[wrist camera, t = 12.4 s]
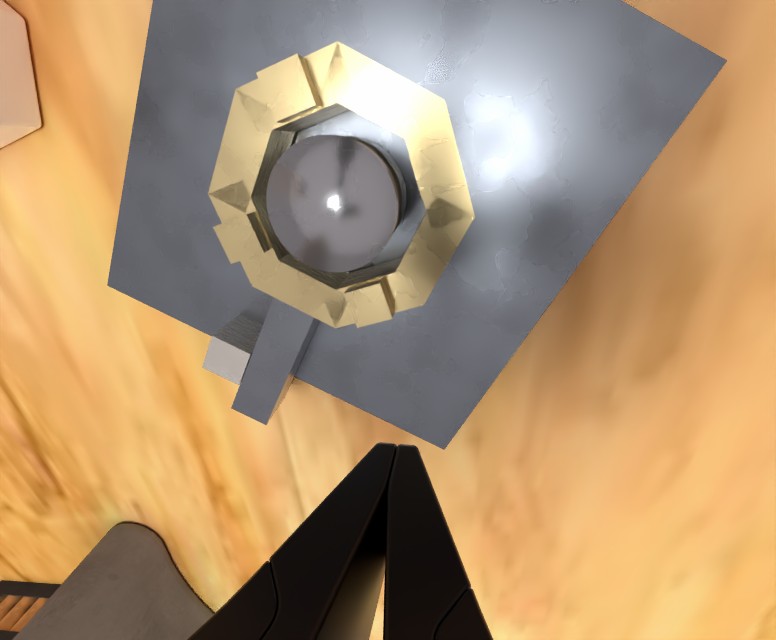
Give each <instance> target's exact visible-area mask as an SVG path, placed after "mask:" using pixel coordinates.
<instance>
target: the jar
mask: <svg viewBox="0 0 776 640" xmlns="http://www.w3.org/2000/svg"><path fill="white" fill-rule="evenodd" d="M41 124H42V123H41V117H40V111H39V104H38V98H37V92H36V86H35V80H34V73H33V67H32V61H31V55H30V49H29V42H28V36H27V30H26V24H25V21H24V19H23V18H22V17H21V16H20V15H19V14H18V13H17V12H16V11H15V10H13V9H12V8H11V7H10V6H9V5H8V4H6V3H5V2H4V1H3V0H0V148H2V147H4V146H6V145H8V144H10V143H12V142H14V141H16V140H18V139H20V138H22V137H23V136H25V135H27V134H29V133H31V132H33V131H35V130H37V129H39V128H40V127H41Z"/></svg>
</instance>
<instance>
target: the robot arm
mask: <svg viewBox="0 0 776 640" xmlns="http://www.w3.org/2000/svg"><path fill="white" fill-rule="evenodd" d="M269 560H270V562H269V561H266V562H265V563H264V564H263V565H262V566H261V567H260V569H259V570H258V571H257V572H256V573H255V574H254V575H253V576H252V577H251V578H250V579H249V580H248V581H247V582H246V583H245V584H244V585H243V586H242V587H241V588H240V589H239V590H238V591H237V592H236V593H235V594H234V595H233V596H232V597H231V598H230V599H229V600H228V601H227V602H226V603H225V604H224V605H223V606H222V607H221V608H220V609H219V610H218V611H217V612H216V613H215V614H214V615H213V616H211V617H210V618H209V619H208V620H207V621H206V622H205V623H204V624H203V625H202V626H201V627H200V628H198V629H197V630H196V631H195V632H194V633H193V634H192V635H191V636H190V637H189V638H187V639H186V640H369V637H370V633H371V629H372V624H373V620H374V616H375V612H376V608H377V603H378V599H379V595H380V591H381V586H382V582H383V578H384V574H385V589H384V626H383V640H493V638H492V635H491V633H490V631H489V628H488V626H487V623H486V621H485V619H484V616H483V614H482V612H481V609H480V607H479V604H478V601H477V599H476V596H475V594H474V591H473V589H471V584H470V581H469V579H468V576H467V574H466V571H465V568H464V566H463V563H462V561H461V558H460V556H459V553H458V550H457V548H456V545H455V543H454V540H453V538H452V535H451V532H450V530H449V527H448V525H447V522H446V519H445V517H444V514H443V512H442V509H441V507H440V504H439V501H438V499H437V496H436V494H435V491H434V489H433V486H432V483H431V481H430V478H429V476H428V473H427V470H426V468H425V465H424V463H423V460H422V458H421V455H420V452H419V450H418V448H417V447H416V446H414V445H404V444H400V445H398V446H396V444H392V443H377V444H376V445H375V446H374V447H373V448H372V449H371V450H370V451H369V453H368V454H367V455H366V456H365V457H364V458H363V459H362V460H361V461H360V462H359V463H358V464H357V465H356V466H355V467H354V469H353V470H352V471H351V472H350V473H349V474H348V475H347V476H346V477H345V478H344V479H343V480H342V481H341V482H340V483H339V485H338V486H337V487H336V488H335V489H334V490H333V491H332V492H331V493H330V494H329V495H328V496H327V497H326V498H325V499H324V501H323V502H322V503H321V504H320V505H319V506H318V507H317V508H316V509H315V510H314V511H313V512H312V513H311V514H310V515H309V517H308V518H307V519H306V520H305V521H304V522H303V523H302V524H301V525H300V526H299V527H298V528H297V529H296V530H295V531H294V533H293V534H292V535H291V536H290V537H289V538H288V539H287V540H286V541H285V542H284V543H283V544H282V545H281V546H280V547H279V549H278V550H277V551H276V552H275V553H274V554H273V555H272V556H271V557H270V559H269Z"/></svg>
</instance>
